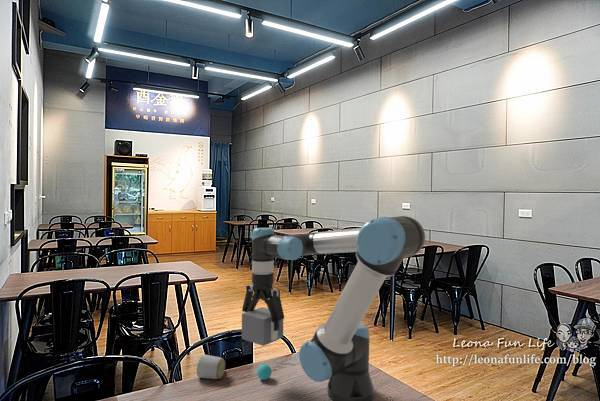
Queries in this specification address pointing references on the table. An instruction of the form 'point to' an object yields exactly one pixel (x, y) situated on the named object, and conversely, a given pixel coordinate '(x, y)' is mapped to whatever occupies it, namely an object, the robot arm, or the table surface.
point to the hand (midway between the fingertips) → (262, 335)
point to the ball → (264, 372)
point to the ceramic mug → (210, 367)
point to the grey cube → (259, 326)
